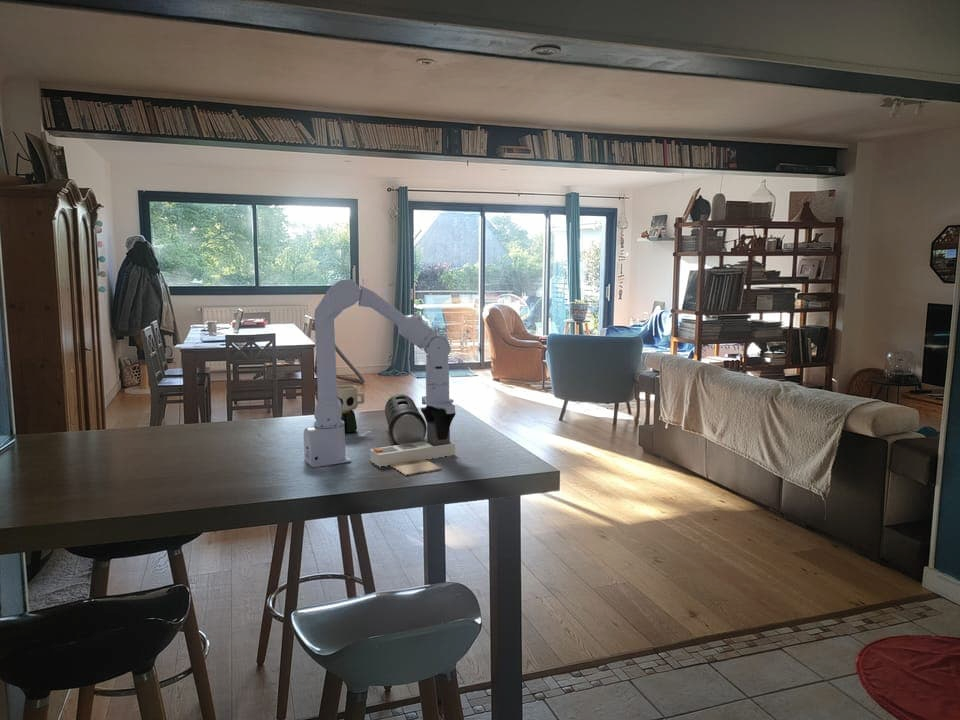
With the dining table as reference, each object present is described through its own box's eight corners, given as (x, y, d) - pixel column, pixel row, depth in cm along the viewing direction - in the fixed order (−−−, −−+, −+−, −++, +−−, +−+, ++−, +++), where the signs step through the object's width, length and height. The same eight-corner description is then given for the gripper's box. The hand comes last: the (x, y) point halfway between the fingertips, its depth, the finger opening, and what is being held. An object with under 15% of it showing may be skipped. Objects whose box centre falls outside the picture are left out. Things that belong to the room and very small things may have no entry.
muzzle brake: (417, 427, 200) (416, 392, 199) (428, 451, 173) (427, 411, 172) (384, 429, 198) (383, 394, 197) (390, 454, 171) (389, 413, 170)
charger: (434, 447, 167) (434, 424, 166) (427, 443, 171) (426, 421, 170) (449, 444, 169) (449, 422, 168) (442, 441, 173) (442, 419, 172)
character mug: (326, 435, 190) (324, 390, 189) (326, 430, 197) (324, 385, 196) (365, 433, 192) (364, 388, 191) (365, 428, 199) (363, 384, 198)
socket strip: (379, 467, 159) (378, 452, 159) (370, 461, 164) (369, 446, 164) (455, 455, 169) (455, 440, 168) (444, 449, 174) (444, 435, 174)
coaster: (405, 476, 152) (405, 474, 152) (390, 466, 160) (390, 464, 160) (441, 469, 157) (441, 468, 157) (424, 460, 164) (424, 459, 164)
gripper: (465, 385, 163) (466, 441, 165) (439, 377, 176) (439, 429, 178) (439, 388, 160) (440, 445, 162) (413, 380, 172) (415, 432, 174)
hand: (438, 437), depth 170 cm, fingers closed on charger, 4 cm apart
